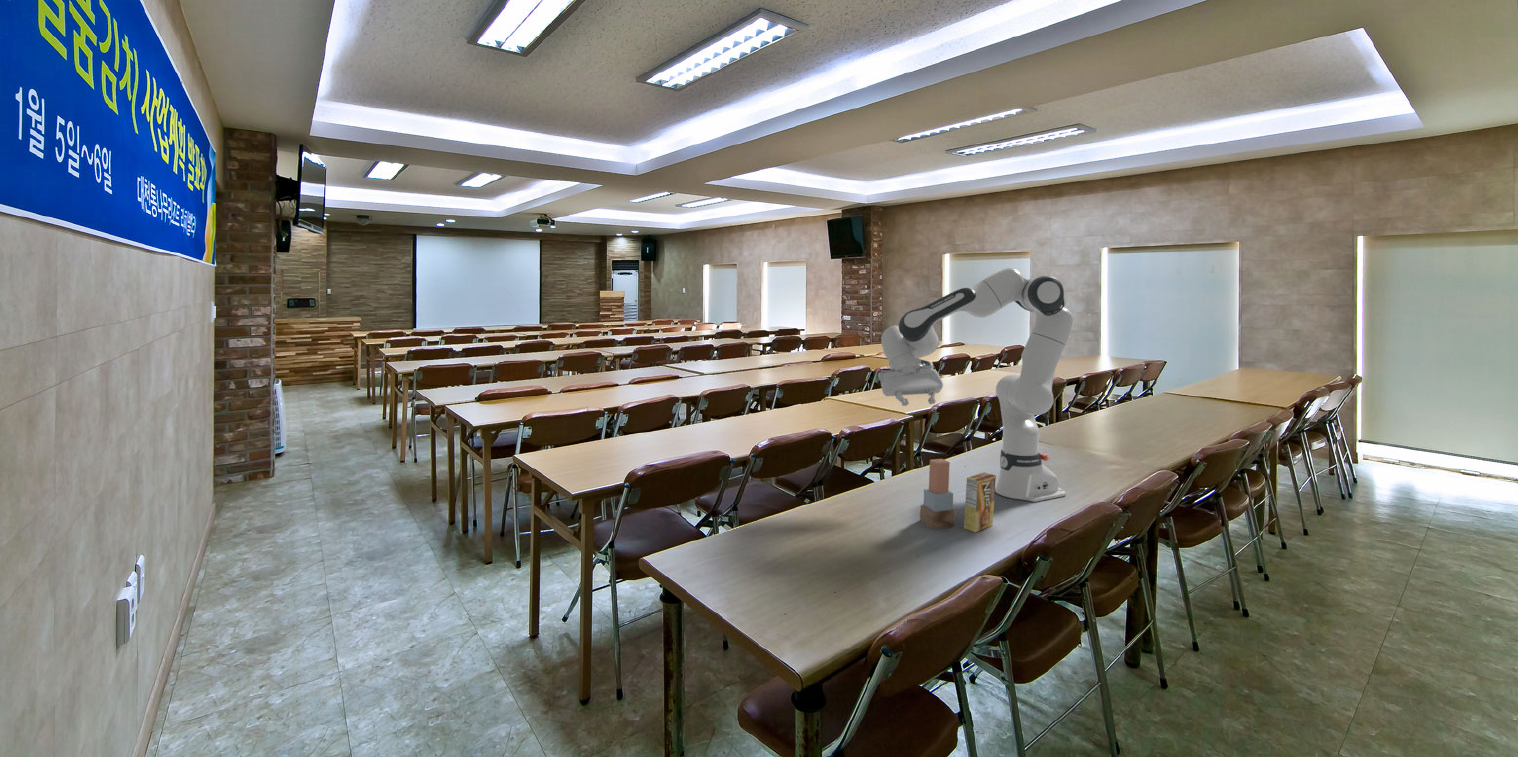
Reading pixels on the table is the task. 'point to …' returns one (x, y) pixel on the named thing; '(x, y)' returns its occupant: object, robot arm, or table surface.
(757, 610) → the table surface
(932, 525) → the tower base
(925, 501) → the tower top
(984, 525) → the candy box
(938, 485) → the post
